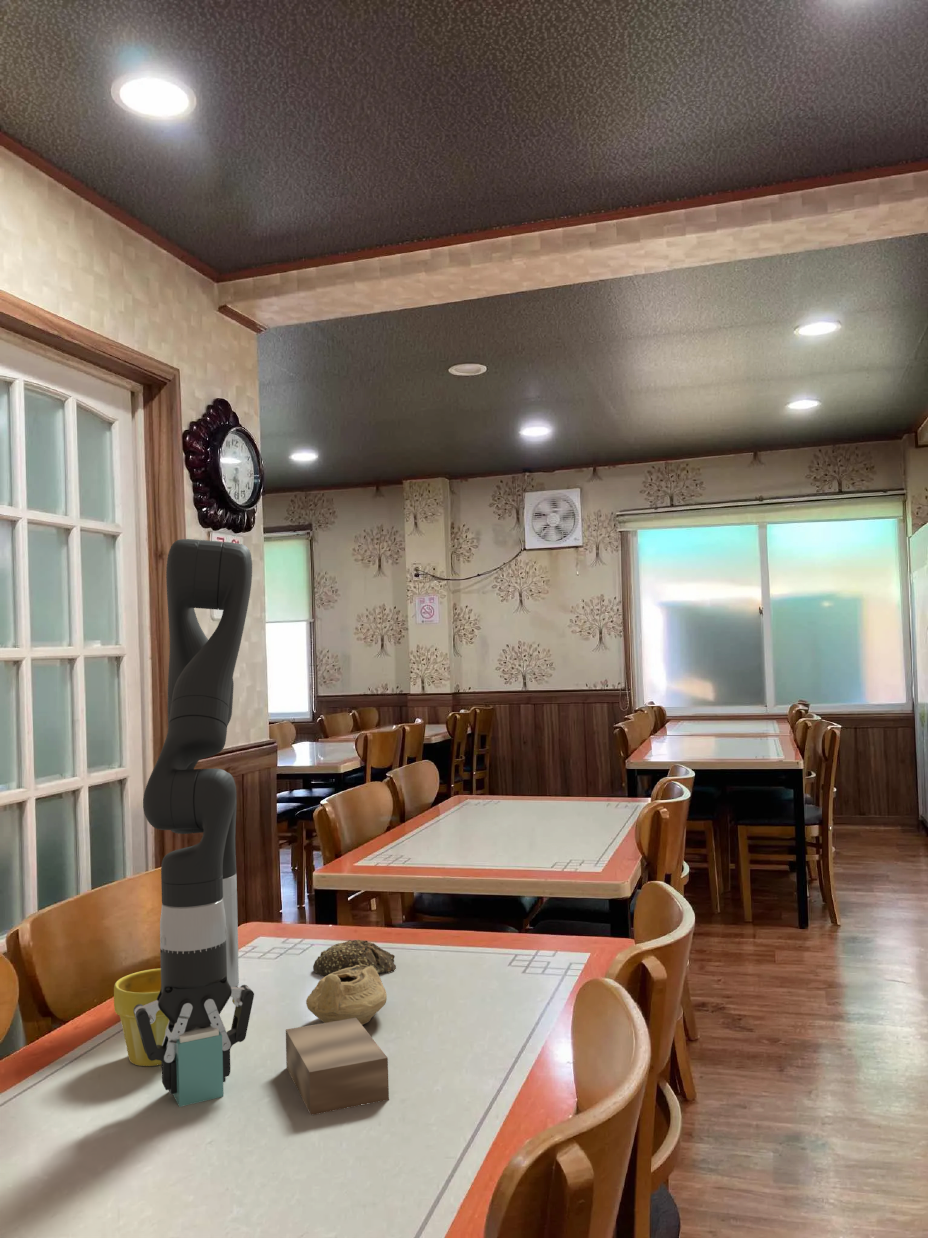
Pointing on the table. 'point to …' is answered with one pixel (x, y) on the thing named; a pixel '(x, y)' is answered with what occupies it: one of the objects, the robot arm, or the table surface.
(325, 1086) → the brown rectangular block
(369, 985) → the oil lamp
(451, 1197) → the table surface
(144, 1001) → the plant pot
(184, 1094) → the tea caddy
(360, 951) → the bread roll
